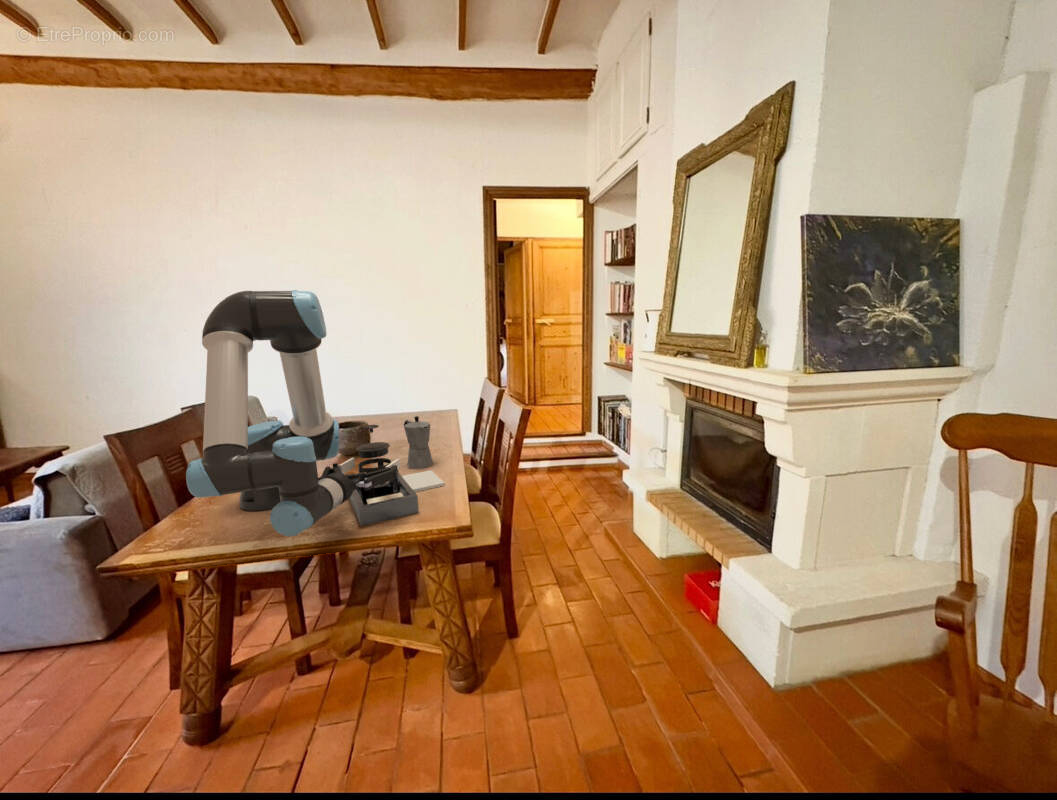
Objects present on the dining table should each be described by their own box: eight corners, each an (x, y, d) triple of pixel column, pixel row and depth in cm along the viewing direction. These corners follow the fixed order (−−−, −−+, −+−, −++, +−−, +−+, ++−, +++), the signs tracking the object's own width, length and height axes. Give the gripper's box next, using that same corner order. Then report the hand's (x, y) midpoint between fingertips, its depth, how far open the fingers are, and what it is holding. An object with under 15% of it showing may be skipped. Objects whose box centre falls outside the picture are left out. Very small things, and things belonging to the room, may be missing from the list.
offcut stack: (368, 522, 115) (366, 505, 114) (365, 516, 119) (363, 499, 118) (410, 512, 120) (408, 496, 119) (406, 506, 124) (404, 490, 123)
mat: (409, 493, 133) (409, 490, 133) (398, 479, 145) (398, 476, 145) (444, 485, 139) (444, 482, 139) (431, 472, 151) (431, 470, 151)
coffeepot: (441, 465, 158) (438, 416, 155) (418, 472, 152) (414, 421, 149) (418, 456, 169) (415, 411, 166) (396, 462, 163) (392, 415, 159)
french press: (353, 509, 123) (344, 430, 119) (366, 496, 132) (358, 421, 128) (395, 508, 123) (387, 429, 118) (405, 495, 132) (398, 420, 128)
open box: (360, 526, 113) (358, 508, 112) (348, 497, 132) (347, 481, 131) (418, 512, 120) (417, 495, 119) (399, 487, 139) (398, 472, 138)
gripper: (285, 505, 106) (337, 474, 127) (380, 510, 102) (418, 477, 122) (280, 475, 105) (334, 449, 125) (377, 479, 100) (416, 451, 121)
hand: (376, 462), depth 124 cm, fingers open, 13 cm apart
